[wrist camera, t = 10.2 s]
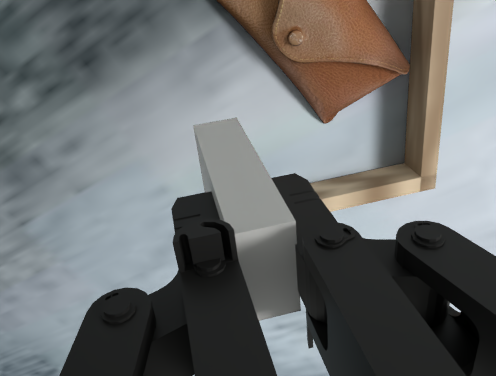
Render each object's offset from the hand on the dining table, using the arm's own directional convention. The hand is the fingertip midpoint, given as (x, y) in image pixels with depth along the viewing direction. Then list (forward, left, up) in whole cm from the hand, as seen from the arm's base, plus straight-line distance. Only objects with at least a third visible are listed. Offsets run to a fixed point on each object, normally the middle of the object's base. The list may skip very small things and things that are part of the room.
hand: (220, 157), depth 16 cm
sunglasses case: (+9, 0, -22) cm, 24 cm away
